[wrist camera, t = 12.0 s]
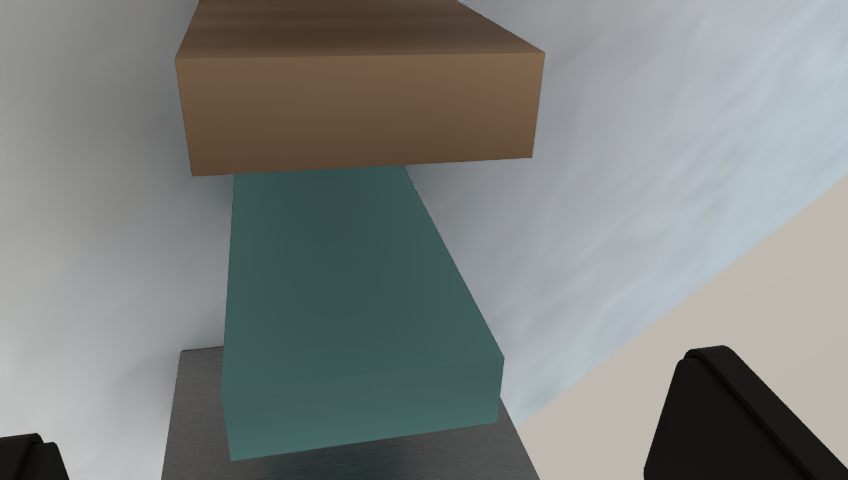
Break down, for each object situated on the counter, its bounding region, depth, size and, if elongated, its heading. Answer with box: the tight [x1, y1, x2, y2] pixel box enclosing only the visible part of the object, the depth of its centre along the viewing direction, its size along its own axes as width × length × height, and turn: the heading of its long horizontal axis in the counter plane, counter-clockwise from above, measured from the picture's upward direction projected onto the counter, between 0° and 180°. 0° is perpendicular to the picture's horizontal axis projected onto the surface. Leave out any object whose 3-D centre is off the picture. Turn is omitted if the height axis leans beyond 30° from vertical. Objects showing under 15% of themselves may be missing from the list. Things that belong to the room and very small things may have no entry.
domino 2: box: [221, 165, 504, 461], centre depth 16 cm, size 2×5×10 cm, turn 89°
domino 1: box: [175, 0, 545, 176], centre depth 13 cm, size 2×5×10 cm, turn 88°
